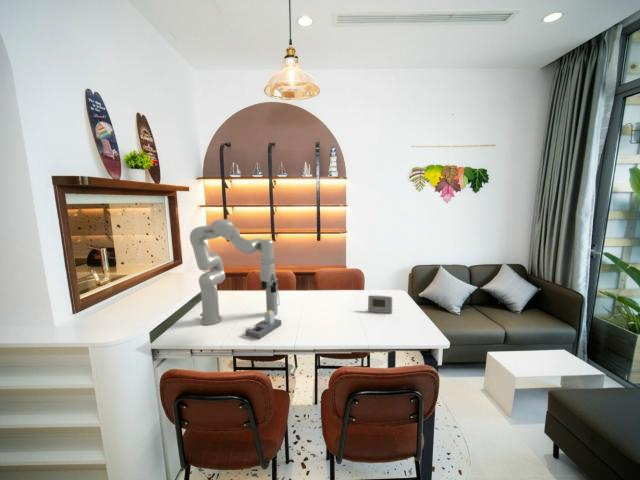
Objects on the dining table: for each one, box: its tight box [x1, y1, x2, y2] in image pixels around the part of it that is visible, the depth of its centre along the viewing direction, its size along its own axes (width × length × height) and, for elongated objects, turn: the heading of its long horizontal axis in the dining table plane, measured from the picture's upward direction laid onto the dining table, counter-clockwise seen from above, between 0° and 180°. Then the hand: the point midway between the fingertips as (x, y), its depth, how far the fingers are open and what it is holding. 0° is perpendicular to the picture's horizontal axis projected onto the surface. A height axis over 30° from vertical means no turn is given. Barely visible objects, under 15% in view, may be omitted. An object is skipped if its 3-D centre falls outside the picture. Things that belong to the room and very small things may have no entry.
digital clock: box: [367, 294, 393, 314], centre depth 185 cm, size 16×9×11 cm, turn 67°
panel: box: [244, 318, 282, 340], centre depth 159 cm, size 10×20×3 cm, turn 152°
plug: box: [264, 310, 276, 324], centre depth 164 cm, size 4×4×10 cm
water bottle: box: [265, 282, 280, 316], centre depth 182 cm, size 9×8×25 cm
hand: (268, 290), depth 157 cm, fingers open, 9 cm apart
